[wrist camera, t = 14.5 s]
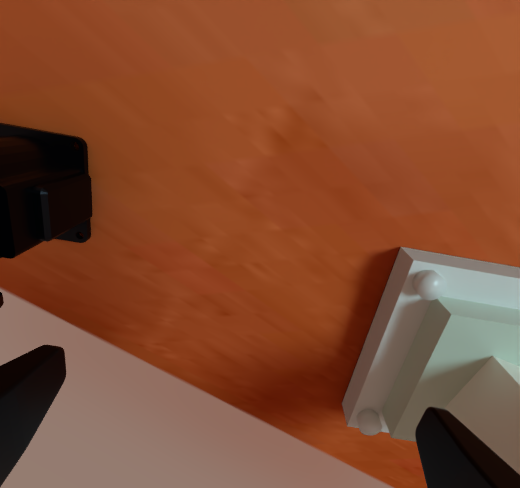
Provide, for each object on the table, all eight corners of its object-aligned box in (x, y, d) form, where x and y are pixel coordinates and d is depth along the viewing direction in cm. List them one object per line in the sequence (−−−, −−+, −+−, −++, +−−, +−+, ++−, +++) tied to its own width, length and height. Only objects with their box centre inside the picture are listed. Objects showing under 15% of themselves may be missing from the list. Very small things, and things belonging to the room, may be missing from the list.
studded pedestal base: (341, 403, 25) (353, 452, 22) (400, 246, 20) (429, 276, 16) (507, 429, 26) (547, 482, 22) (608, 283, 20) (683, 320, 17)
